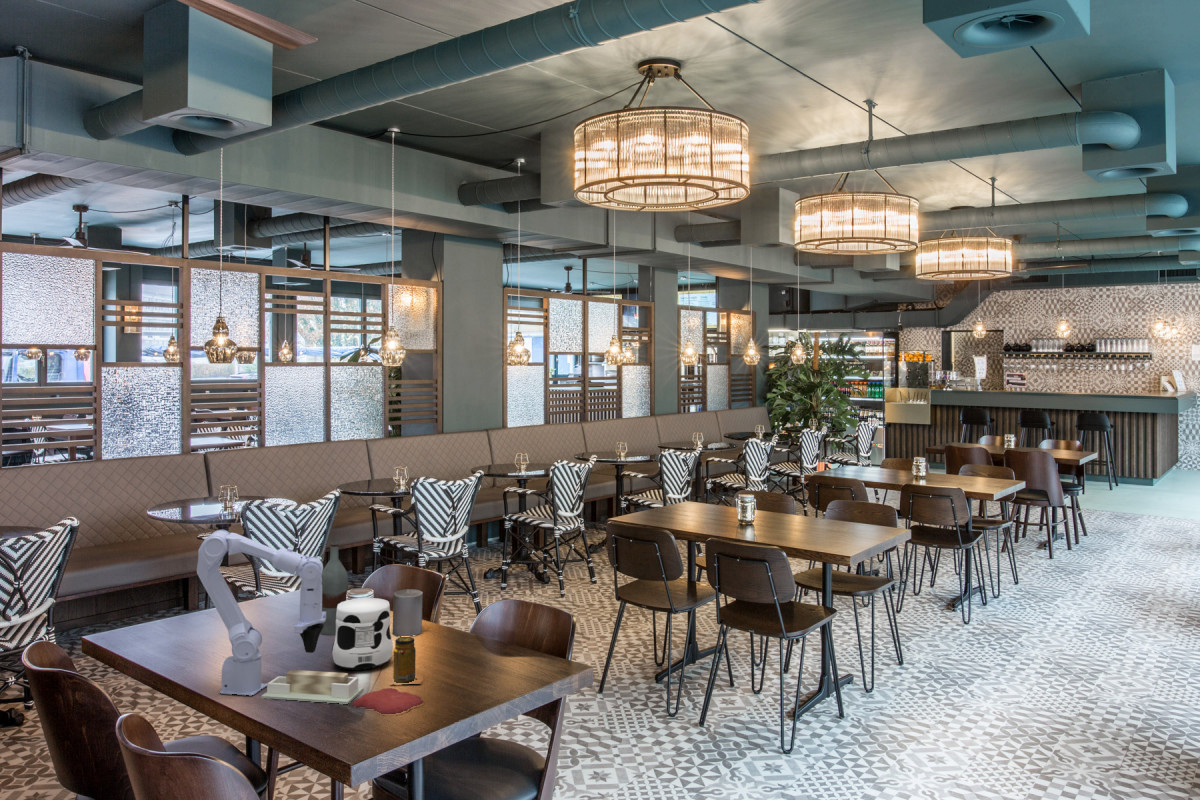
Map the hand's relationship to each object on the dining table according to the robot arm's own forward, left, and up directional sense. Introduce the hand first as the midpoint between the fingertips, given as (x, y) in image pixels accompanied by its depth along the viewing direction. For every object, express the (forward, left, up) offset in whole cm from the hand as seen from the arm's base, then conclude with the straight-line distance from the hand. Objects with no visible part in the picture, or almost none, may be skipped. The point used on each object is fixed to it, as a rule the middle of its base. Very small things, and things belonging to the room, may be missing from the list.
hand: (310, 651), depth 220 cm
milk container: (+7, +19, -10) cm, 22 cm away
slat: (+5, -6, -9) cm, 12 cm away
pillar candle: (+9, +51, -10) cm, 53 cm away
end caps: (+4, -6, -9) cm, 12 cm away
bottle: (-16, +48, -10) cm, 51 cm away
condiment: (+25, +8, -10) cm, 28 cm away
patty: (+26, -8, -10) cm, 29 cm away
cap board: (+4, -6, -9) cm, 12 cm away
